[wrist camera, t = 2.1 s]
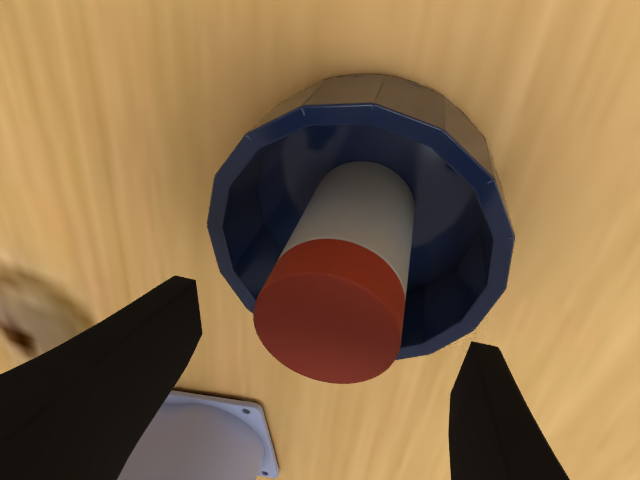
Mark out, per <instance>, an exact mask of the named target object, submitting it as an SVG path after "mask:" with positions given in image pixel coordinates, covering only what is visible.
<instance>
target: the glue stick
mask: <svg viewBox="0 0 640 480" xmlns="http://www.w3.org/2000/svg"><path fill="white" fill-rule="evenodd" d="M414 215H415V203H414V198H413V195H412V192H411V190H410V188H409V187H408V185H407V184H406V182H405V181H404V180H403V179H402V178H401V177H400V176H399V175H398V174H397V173H395V172H394V171H393V170H391V169H389V168H387V167H385V166H383V165H381V164H377V163H373V162H368V161H355V162H349V163H345V164H342V165H340V166H338V167H336V168H334V169H333V170H331V171H330V172H329V173H328V174H327V175H325V177H324V178H323V179H322V180H321V182H320V184H319V185H318V187H317V189H316V191H315V193H314V195H313V196H312V198H311V200H310V202H309V204H308V206H307V207H306V209H305V211H304V213H303V215H302V217H301V218H300V220H299V222H298V224H297V226H296V228H295V229H294V231H293V233H292V235H291V237H290V239H289V240H288V242H287V244H286V246H285V248H284V250H283V251H282V253H281V255H280V257H279V259H278V261H277V262H276V264H275V266H274V268H273V270H272V272H271V273H270V275H269V277H268V279H267V281H266V283H265V284H264V286H263V288H262V290H261V292H260V294H259V295H258V297H257V300H256V302H255V306H254V325H255V329H256V332H257V334H258V336H259V338H260V340H261V342H262V343H263V345H264V346H265V348H266V349H267V350H268V351H269V352H270V353H271V354H272V355H273V356H274V357H275V358H276V359H277V360H278V361H279V362H281V363H282V364H283V365H285V366H286V367H288V368H289V369H291V370H293V371H295V372H297V373H299V374H301V375H303V376H306V377H309V378H311V379H315V380H318V381H322V382H328V383H337V384H349V383H358V382H363V381H366V380H369V379H372V378H374V377H376V376H378V375H380V374H381V373H383V372H384V371H386V370H387V369H388V368H389V367H390V366H391V365H392V363H393V362H394V361H395V359H396V357H397V355H398V353H399V350H400V347H401V337H402V328H403V319H404V309H405V300H406V290H407V281H408V272H409V262H410V253H411V244H412V234H413V225H414Z"/></svg>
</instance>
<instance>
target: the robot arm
mask: <svg viewBox="0 0 640 480" xmlns="http://www.w3.org/2000/svg"><path fill="white" fill-rule="evenodd" d="M201 335H202V327H201V319H200V311H199V303H198V295H197V287H196V280H193V279H188V278H184V277H179V276H173V277H172V278H170V279H168V280H167V281H165V282H163V283H162V284H160V285H159V286H157V287H156V288H154V289H152V290H151V291H149V292H148V293H146V294H145V295H143V296H142V297H140V298H138V299H137V300H135V301H134V302H132V303H131V304H129V305H127V306H126V307H124V308H122V309H121V310H119V311H118V312H116V313H114V314H113V315H111V316H110V317H108V318H106V319H105V320H103V321H101V322H100V323H98V324H96V325H95V326H93V327H91V328H89V329H87V330H86V331H84V332H82V333H80V334H79V335H77V336H75V337H73V338H72V339H70V340H68V341H66V342H65V343H63V344H61V345H59V346H57V347H55V348H54V349H52V350H50V351H48V352H46V353H44V354H42V355H40V356H38V357H36V358H34V359H32V360H30V361H28V362H26V363H24V364H22V365H19V366H17V367H15V368H13V369H11V370H9V371H7V372H5V373H2V374H0V480H256V478H257V475H259V476H264V477H270V478H277V477H278V475H279V468H278V464H277V460H276V456H275V453H274V449H273V445H272V442H271V438H270V434H269V431H268V427H267V423H266V419H265V416H264V412H263V409H262V407H261V406H260V405H259V404H257V403H254V402H247V401H241V400H234V399H227V398H221V397H214V396H207V395H201V394H194V393H187V392H181V391H174V390H172V389H173V387H174V386H175V384H176V383H177V381H178V379H179V378H180V376H181V375H182V373H183V372H184V370H185V368H186V367H187V365H188V363H189V361H190V359H191V357H192V355H193V353H194V351H195V348H196V346H197V344H198V342H199V340H200V338H201ZM449 452H450V468H451V480H570V479H569V478H568V476H567V474H566V473H565V471H564V469H563V468H562V466H561V465H560V463H559V461H558V460H557V458H556V456H555V455H554V453H553V451H552V449H551V448H550V446H549V444H548V443H547V441H546V439H545V437H544V435H543V434H542V432H541V430H540V428H539V426H538V424H537V423H536V421H535V419H534V417H533V415H532V414H531V412H530V410H529V408H528V406H527V404H526V402H525V400H524V398H523V396H522V394H521V392H520V390H519V388H518V386H517V384H516V382H515V380H514V378H513V376H512V374H511V372H510V370H509V368H508V366H507V364H506V361H505V359H504V357H503V355H502V353H501V351H500V350H499V348H498V347H495V346H491V345H486V344H482V343H477V342H473V341H471V344H470V346H469V349H468V351H467V354H466V356H465V359H464V361H463V364H462V366H461V369H460V371H459V374H458V376H457V379H456V381H455V384H454V386H453V389H452V391H451V396H450V413H449Z"/></svg>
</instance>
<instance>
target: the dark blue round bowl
mask: <svg viewBox="0 0 640 480" xmlns="http://www.w3.org/2000/svg"><path fill="white" fill-rule="evenodd" d="M355 161H368V162H373V163H377V164H381V165H383V166H385V167H387V168H389V169H391V170H393V171H394V172H395V173H397V174H398V175H399V176H400V177H401V178H402V179H403V180H404V181H405V182H406V184H407V185H408V187H409V188H410V190H411V192H412V195H413V198H414V203H415V215H414V225H413V234H412V244H411V253H410V262H409V272H408V281H407V290H406V300H405V309H404V319H403V328H402V337H401V347H400V350H399V353H398V355H397V357H396V359H395V360H399V359H405V358H411V357H417V356H423V355H429V354H430V353H431V354H432V353H434V352H436V351H438V350H439V349H441V348H443V347H445V346H447V345H449V344H450V343H452V342H454V341H456V340H458V339H460V338H461V337H463V336H465V335H467V334H469V333H470V332H472V331H474V329H476V327H477V326H478V325H479V324H480V322H481V321H482V320H483V318H484V317H485V316H486V315H487V313H488V312H489V311H490V309H491V308H492V307H493V306H494V304H495V303H496V302H497V300H498V299H499V298H500V296H501V295H502V294H503V293H504V291H505V290H506V287H507V281H508V275H509V269H510V264H511V258H512V252H513V246H514V241H515V234H514V230H513V227H512V223H511V219H510V215H509V212H508V208H507V204H506V200H505V196H504V193H503V189H502V185H501V182H500V179H499V177H498V174H497V171H496V168H495V165H494V162H493V158H492V156H491V153H490V150H489V148H488V145H487V142H486V139H485V138H484V136H483V135H482V134H481V133H480V132H479V131H478V129H477V128H476V127H475V125H474V124H473V123H472V122H471V121H470V120H469V119H468V117H467V116H466V115H465V114H464V113H463V112H462V111H461V110H460V109H458V108H457V107H456V106H455V105H454V104H453V103H451V102H450V101H449V100H447V99H446V98H445V97H443V96H442V95H440V94H438V93H436V92H435V91H433V90H431V89H429V88H427V87H424V86H422V85H420V84H418V83H416V82H412V81H409V80H406V79H402V78H399V77H394V76H389V75H381V74H353V75H345V76H339V77H335V78H329V79H325V80H323V81H321V82H319V83H316V84H314V85H312V86H309V87H307V88H305V89H304V90H302V91H300V92H299V93H297V94H296V95H294V96H292V97H290V98H288V99H286V100H285V101H283V102H281V103H280V104H279V105H278V106H276V107H275V108H274V109H273V110H272V111H271V112H270V113H269V114H267V115H266V116H265V117H264V118H263V119H262V120H261V121H260V122H258V123H257V124H256V125H255V126H254V127H253V128H252V129H251V130H249V131H248V132H247V133H246V134H245V135H244V137H243V138H242V139H241V141H240V142H239V143H238V145H237V146H236V147H235V149H234V150H233V151H232V153H231V154H230V156H229V157H228V158H227V160H226V161H225V162H224V164H223V165H222V166H221V168H220V169H219V170H218V172H217V173H216V175H215V178H214V182H213V188H212V195H211V201H210V207H209V214H208V220H207V228H208V231H209V235H210V238H211V242H212V246H213V249H214V253H215V256H216V260H217V264H218V267H219V270H220V272H221V274H222V275H223V277H224V278H225V279H226V281H227V282H228V283H229V285H230V286H231V288H232V289H233V290H234V292H235V293H236V295H237V296H238V297H239V299H240V300H241V301H242V303H243V304H244V306H245V307H246V308H247V309H248V310H249V311H251V312H252V313H253V314H254V306H255V302H256V300H257V297H258V295H259V294H260V292H261V290H262V288H263V286H264V284H265V283H266V281H267V279H268V277H269V275H270V273H271V272H272V270H273V268H274V266H275V264H276V262H277V261H278V259H279V257H280V255H281V253H282V251H283V250H284V248H285V246H286V244H287V242H288V240H289V239H290V237H291V235H292V233H293V231H294V229H295V228H296V226H297V224H298V222H299V220H300V218H301V217H302V215H303V213H304V211H305V209H306V207H307V206H308V204H309V202H310V200H311V198H312V196H313V195H314V193H315V191H316V189H317V187H318V185H319V184H320V182H321V180H322V179H323V178H324V177H325V175H327V174H328V173H329V172H330V171H331V170H333V169H334V168H336V167H338V166H340V165H342V164H345V163H349V162H355Z"/></svg>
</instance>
